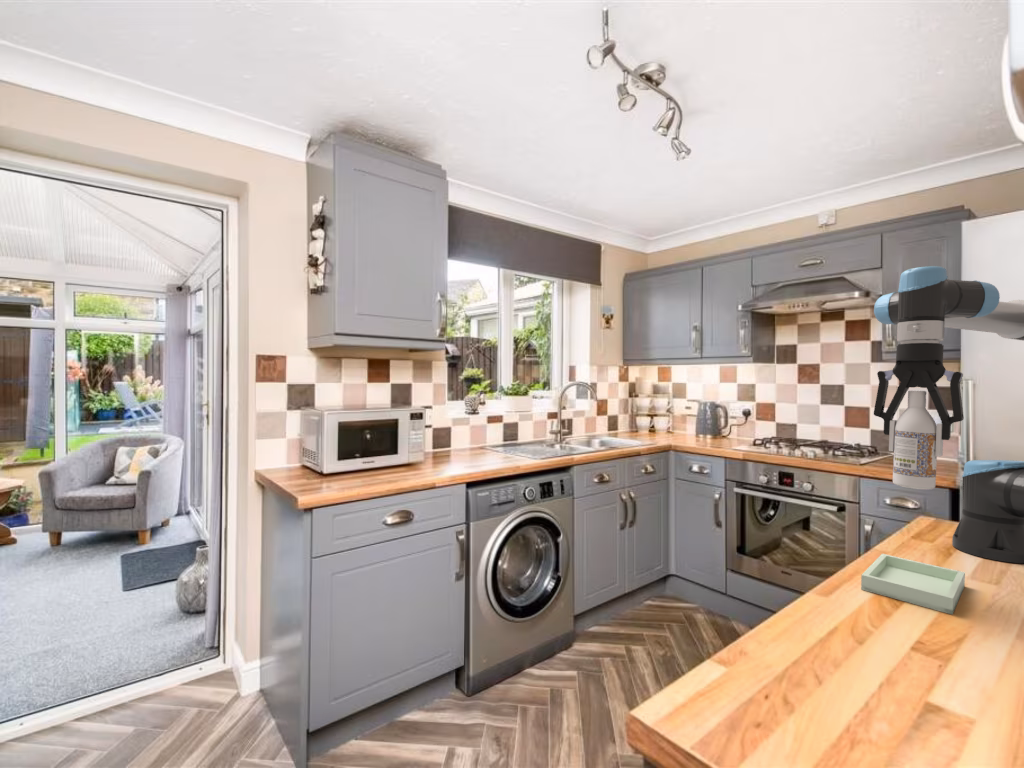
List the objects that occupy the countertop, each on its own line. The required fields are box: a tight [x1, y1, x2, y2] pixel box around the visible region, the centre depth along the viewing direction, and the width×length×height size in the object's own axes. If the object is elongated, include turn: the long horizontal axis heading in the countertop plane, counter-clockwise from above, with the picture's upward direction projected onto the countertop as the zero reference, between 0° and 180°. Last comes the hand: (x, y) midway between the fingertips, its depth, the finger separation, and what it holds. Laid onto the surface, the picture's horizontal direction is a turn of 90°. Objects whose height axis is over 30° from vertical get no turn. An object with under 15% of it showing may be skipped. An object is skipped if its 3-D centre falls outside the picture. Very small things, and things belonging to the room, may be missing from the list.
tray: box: [860, 553, 966, 616], centre depth 101 cm, size 18×14×3 cm
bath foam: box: [892, 390, 938, 490], centre depth 102 cm, size 7×7×20 cm
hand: (915, 452), depth 102 cm, fingers closed on bath foam, 7 cm apart
